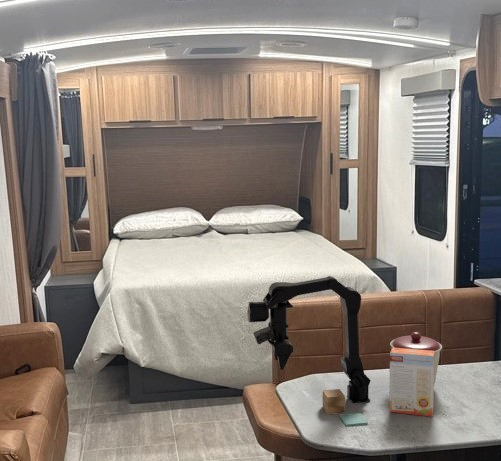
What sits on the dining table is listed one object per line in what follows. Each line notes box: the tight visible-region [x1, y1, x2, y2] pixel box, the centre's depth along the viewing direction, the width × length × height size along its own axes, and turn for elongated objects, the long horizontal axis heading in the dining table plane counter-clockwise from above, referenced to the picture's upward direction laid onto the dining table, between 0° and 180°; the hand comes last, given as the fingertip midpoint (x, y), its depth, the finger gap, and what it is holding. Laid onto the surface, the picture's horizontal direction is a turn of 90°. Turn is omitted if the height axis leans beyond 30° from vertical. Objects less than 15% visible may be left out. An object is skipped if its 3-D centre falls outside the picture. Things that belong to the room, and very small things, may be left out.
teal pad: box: [338, 412, 369, 427], centre depth 203 cm, size 7×7×1 cm
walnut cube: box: [322, 388, 346, 415], centre depth 211 cm, size 6×6×6 cm
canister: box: [389, 331, 443, 386], centre depth 226 cm, size 18×18×21 cm
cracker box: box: [388, 347, 435, 417], centre depth 207 cm, size 14×6×21 cm, turn 71°
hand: (279, 364), depth 213 cm, fingers open, 9 cm apart
